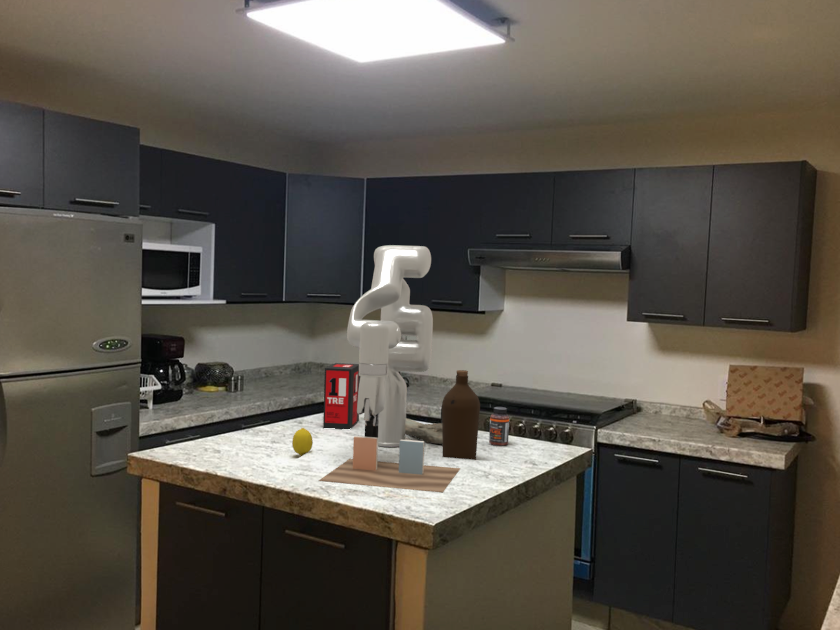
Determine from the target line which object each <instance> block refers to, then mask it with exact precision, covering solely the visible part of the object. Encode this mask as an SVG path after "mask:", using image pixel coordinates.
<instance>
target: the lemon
mask: <svg viewBox="0 0 840 630" xmlns="http://www.w3.org/2000/svg"><path fill="white" fill-rule="evenodd" d="M313 440H314V439H313V437H312V433H311V431H309V430H308V429H306V428H304V427H301V428H300V429H297V431H295V433H294V434H293V437H292V440H291V441H292V448H293V450H294V452H295V453H296V454H298V455H299V456H300V457H303V456H304V455H307V454H308V453H310V451H311V450H312V448H313V443H314V442H313Z"/></svg>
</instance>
